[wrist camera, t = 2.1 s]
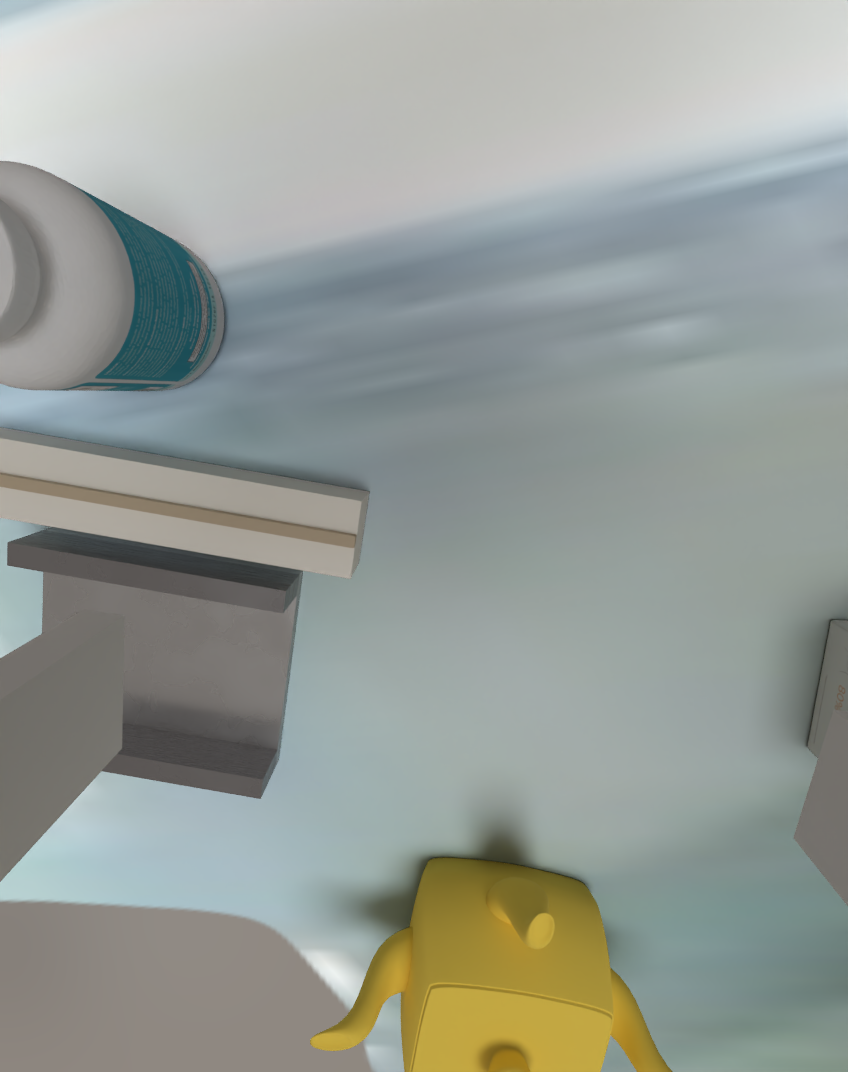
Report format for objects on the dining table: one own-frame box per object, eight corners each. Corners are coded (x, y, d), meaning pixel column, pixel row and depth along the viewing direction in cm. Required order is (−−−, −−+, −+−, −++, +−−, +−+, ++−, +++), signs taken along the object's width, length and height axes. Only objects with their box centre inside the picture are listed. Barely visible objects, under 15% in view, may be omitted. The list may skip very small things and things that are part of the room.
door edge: (0, 427, 32) (-51, 430, 29) (369, 491, 32) (360, 502, 29) (0, 499, 33) (-50, 511, 30) (359, 562, 33) (348, 581, 30)
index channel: (53, 526, 33) (7, 542, 30) (303, 570, 33) (285, 591, 30) (48, 719, 36) (5, 754, 33) (278, 759, 36) (260, 798, 33)
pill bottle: (178, 207, 29) (-41, 56, 16) (257, 347, 31) (113, 312, 18) (56, 285, 30) (-242, 201, 17) (137, 417, 32) (-82, 432, 19)
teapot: (337, 898, 38) (302, 1062, 29) (520, 785, 36) (546, 924, 27) (472, 1046, 41) (480, 1242, 31) (652, 949, 38) (719, 1130, 29)
